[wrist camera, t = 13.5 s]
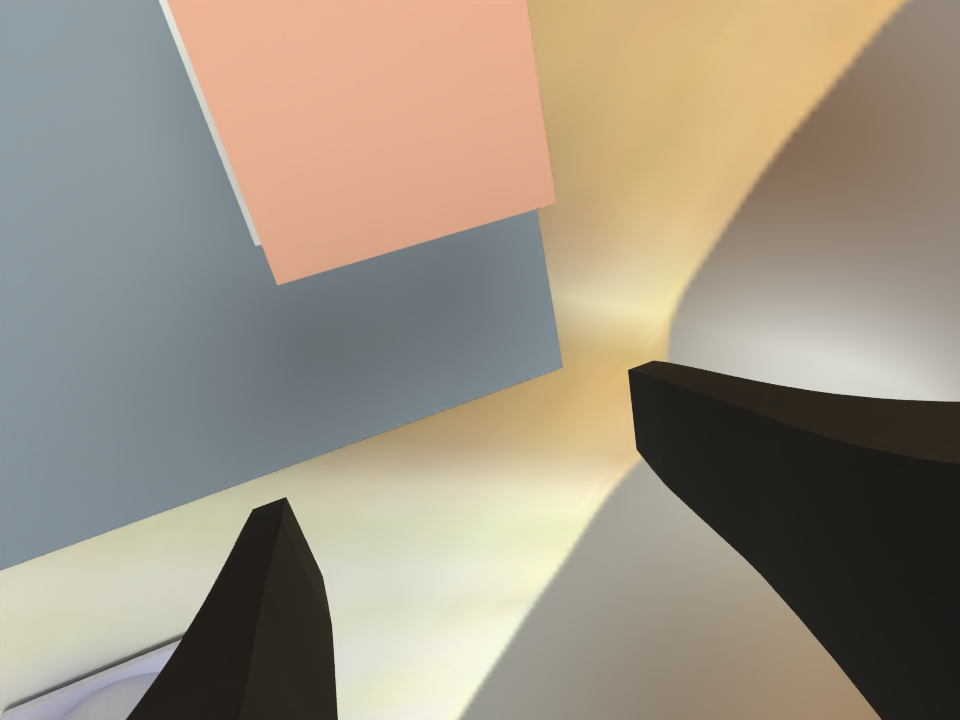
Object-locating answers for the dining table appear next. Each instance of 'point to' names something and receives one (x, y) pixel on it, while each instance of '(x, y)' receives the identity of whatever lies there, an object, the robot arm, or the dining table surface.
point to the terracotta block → (370, 119)
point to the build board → (200, 296)
